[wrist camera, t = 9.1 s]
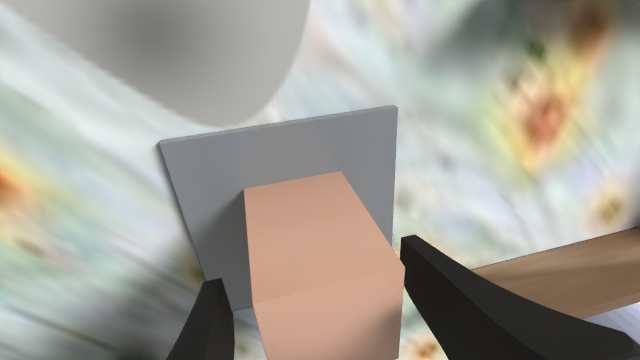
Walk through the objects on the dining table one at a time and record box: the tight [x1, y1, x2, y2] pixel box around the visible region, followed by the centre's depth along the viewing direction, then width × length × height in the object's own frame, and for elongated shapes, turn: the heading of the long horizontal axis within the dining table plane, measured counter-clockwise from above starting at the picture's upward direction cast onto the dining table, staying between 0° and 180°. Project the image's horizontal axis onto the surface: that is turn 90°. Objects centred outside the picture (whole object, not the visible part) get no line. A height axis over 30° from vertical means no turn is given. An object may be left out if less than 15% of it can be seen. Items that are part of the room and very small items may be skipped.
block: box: [244, 171, 405, 360], centre depth 13 cm, size 4×4×6 cm
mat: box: [159, 105, 398, 311], centre depth 16 cm, size 10×10×1 cm
